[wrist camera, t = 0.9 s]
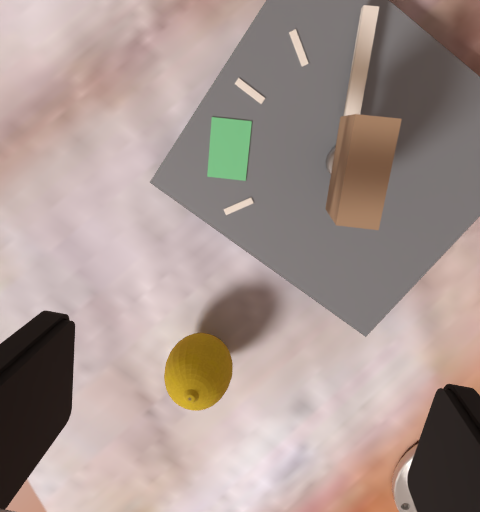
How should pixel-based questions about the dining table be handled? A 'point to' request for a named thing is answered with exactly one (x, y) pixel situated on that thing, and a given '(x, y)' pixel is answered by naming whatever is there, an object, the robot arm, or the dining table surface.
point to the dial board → (322, 142)
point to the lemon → (198, 371)
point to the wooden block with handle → (361, 145)
